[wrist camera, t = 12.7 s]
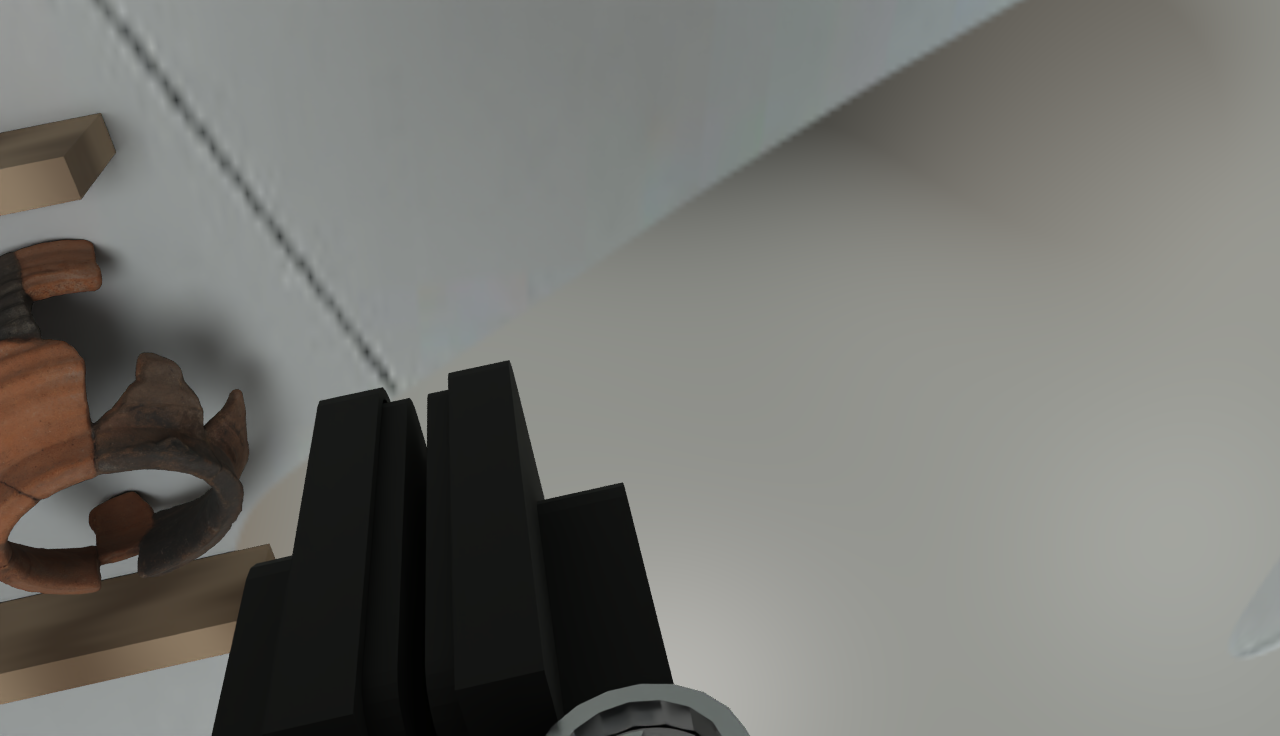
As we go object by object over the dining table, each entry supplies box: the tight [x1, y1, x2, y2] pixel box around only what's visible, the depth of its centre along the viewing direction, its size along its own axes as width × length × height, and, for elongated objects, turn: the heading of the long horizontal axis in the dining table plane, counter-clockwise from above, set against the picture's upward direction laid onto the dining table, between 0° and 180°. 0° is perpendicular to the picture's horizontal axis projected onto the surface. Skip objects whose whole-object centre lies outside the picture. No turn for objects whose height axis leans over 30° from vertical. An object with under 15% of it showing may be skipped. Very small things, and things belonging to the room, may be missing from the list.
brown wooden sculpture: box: [0, 240, 249, 595], centre depth 37 cm, size 12×9×8 cm
